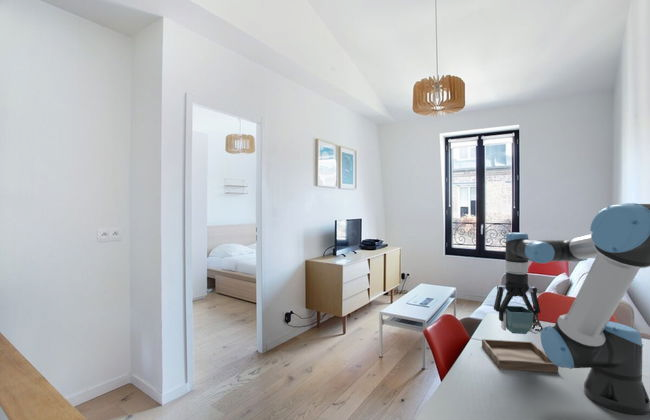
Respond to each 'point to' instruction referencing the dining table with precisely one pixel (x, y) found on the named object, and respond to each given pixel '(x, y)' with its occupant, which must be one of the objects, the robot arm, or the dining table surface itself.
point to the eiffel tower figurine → (536, 322)
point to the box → (518, 356)
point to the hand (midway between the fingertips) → (516, 329)
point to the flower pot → (518, 319)
